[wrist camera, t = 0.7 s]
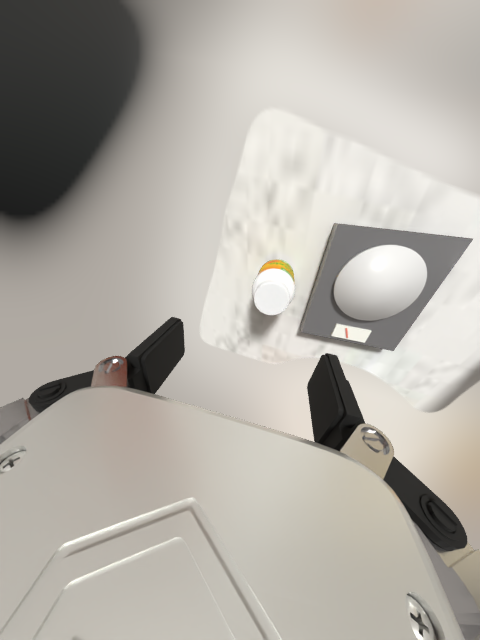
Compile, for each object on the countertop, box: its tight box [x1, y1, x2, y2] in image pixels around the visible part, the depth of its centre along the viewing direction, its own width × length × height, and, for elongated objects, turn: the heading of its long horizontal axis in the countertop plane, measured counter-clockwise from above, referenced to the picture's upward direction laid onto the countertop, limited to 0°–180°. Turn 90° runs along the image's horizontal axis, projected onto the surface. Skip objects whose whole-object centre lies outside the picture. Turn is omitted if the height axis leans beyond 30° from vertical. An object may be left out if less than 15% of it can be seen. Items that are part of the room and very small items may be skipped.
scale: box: [301, 223, 473, 351], centre depth 25 cm, size 14×16×3 cm
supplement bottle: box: [252, 259, 295, 315], centre depth 24 cm, size 5×5×10 cm
